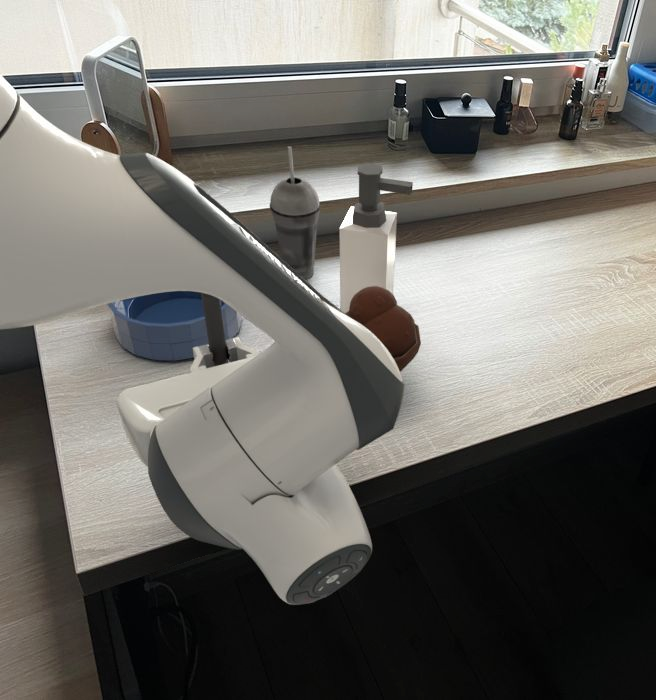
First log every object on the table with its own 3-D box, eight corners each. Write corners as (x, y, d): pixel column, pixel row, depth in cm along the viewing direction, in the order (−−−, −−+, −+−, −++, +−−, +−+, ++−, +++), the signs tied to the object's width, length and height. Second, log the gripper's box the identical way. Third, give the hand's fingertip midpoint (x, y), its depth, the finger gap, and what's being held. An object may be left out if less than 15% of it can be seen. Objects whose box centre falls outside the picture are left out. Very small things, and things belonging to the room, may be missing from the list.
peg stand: (201, 450, 74) (176, 307, 63) (196, 411, 79) (172, 271, 67) (261, 439, 76) (247, 299, 65) (253, 401, 81) (238, 264, 69)
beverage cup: (283, 289, 108) (274, 164, 96) (268, 264, 113) (258, 142, 101) (329, 280, 112) (326, 157, 99) (313, 256, 116) (308, 137, 104)
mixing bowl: (116, 372, 91) (106, 334, 87) (115, 300, 102) (106, 264, 99) (249, 352, 96) (245, 316, 93) (234, 286, 108) (230, 251, 104)
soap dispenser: (400, 325, 104) (408, 185, 91) (340, 316, 105) (339, 175, 91) (408, 300, 109) (416, 164, 96) (351, 292, 110) (351, 155, 96)
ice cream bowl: (313, 402, 90) (309, 303, 81) (364, 355, 98) (365, 261, 89) (385, 435, 87) (389, 337, 78) (431, 384, 95) (440, 290, 86)
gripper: (371, 379, 66) (314, 298, 75) (132, 448, 56) (99, 347, 65) (369, 428, 70) (315, 346, 79) (145, 501, 60) (113, 399, 69)
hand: (215, 347), depth 72 cm, fingers closed on peg stand
